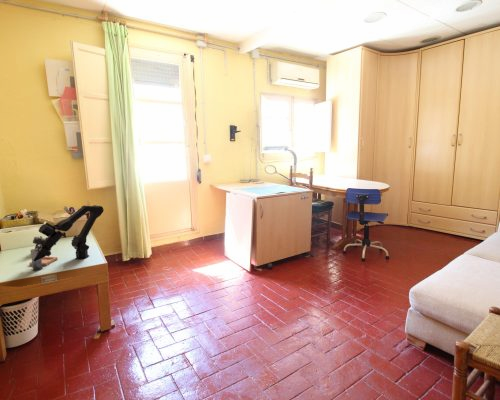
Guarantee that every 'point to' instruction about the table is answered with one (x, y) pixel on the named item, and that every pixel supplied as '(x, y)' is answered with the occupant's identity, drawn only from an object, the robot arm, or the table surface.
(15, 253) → the table surface
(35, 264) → the canister
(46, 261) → the tray
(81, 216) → the robot arm
